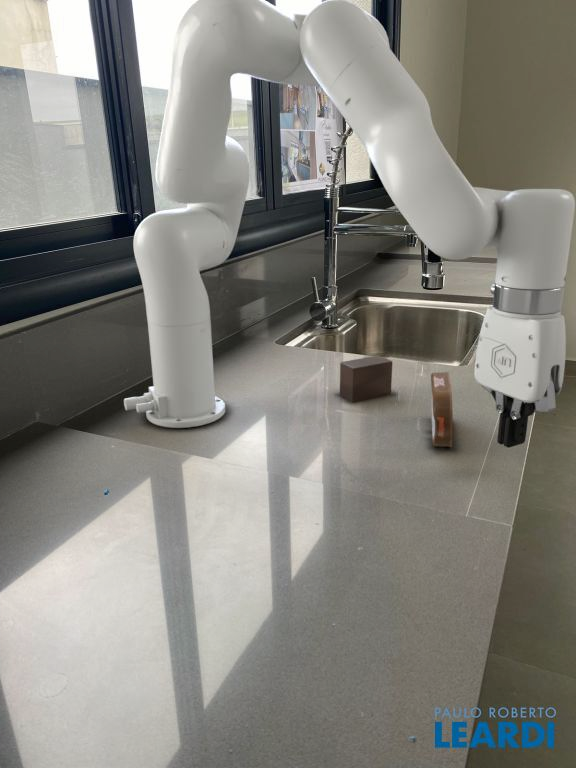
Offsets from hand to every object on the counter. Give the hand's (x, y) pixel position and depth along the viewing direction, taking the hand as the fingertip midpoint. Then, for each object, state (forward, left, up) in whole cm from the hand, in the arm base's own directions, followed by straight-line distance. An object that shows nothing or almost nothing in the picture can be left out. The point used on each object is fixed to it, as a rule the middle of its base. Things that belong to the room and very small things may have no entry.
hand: (510, 442), depth 76 cm
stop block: (0, +32, -4) cm, 32 cm away
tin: (0, +13, -4) cm, 14 cm away
